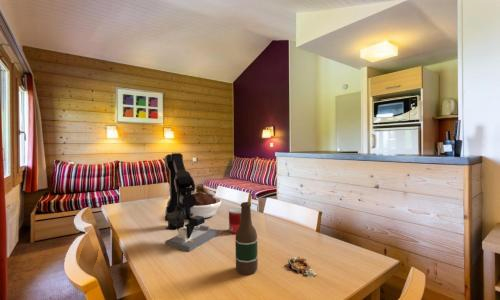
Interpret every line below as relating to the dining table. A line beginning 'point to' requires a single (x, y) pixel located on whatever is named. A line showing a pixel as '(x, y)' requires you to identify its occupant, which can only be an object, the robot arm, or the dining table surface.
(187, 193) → the robot arm
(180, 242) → the console plate
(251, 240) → the beer bottle
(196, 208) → the white serving bowl
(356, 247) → the dining table surface
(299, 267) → the pastry
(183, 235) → the fader tab
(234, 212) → the canned food
